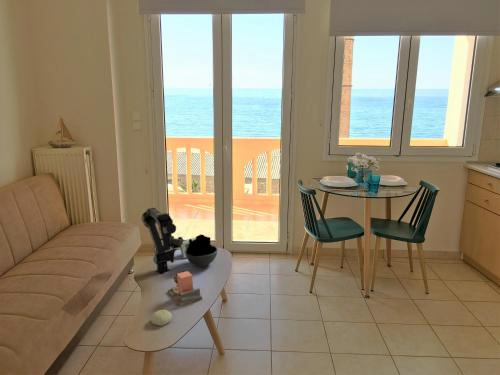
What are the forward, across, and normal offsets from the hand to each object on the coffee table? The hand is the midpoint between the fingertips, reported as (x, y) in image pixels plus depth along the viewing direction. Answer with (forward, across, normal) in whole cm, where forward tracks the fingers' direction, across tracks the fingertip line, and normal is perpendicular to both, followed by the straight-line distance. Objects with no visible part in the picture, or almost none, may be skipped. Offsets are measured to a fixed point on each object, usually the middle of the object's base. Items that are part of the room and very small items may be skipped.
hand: (172, 262), depth 215 cm
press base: (+18, -10, -7) cm, 22 cm away
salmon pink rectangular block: (+17, -11, -9) cm, 22 cm away
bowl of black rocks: (+7, +26, -7) cm, 28 cm away
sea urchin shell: (+24, -33, -4) cm, 41 cm away
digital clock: (0, +40, +4) cm, 41 cm away
